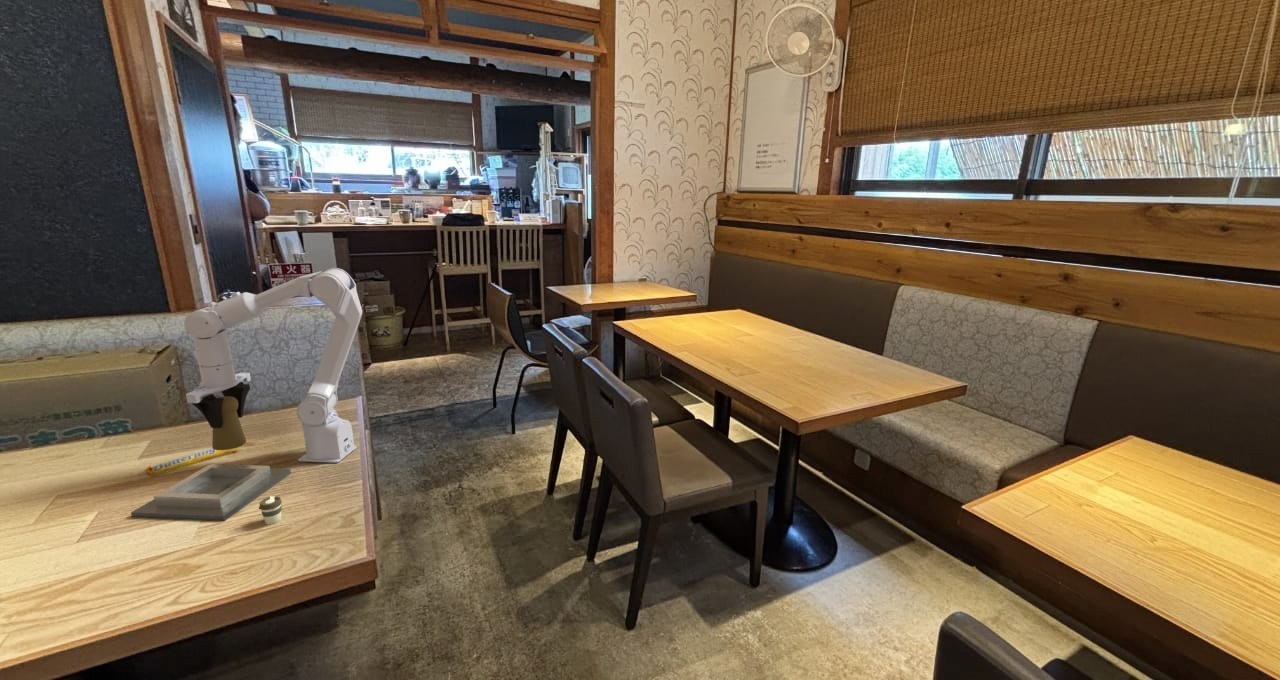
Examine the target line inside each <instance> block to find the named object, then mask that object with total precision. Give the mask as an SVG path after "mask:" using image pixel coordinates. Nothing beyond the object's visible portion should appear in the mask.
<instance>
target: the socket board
mask: <svg viewBox="0 0 1280 680" xmlns="http://www.w3.org/2000/svg"><path fill="white" fill-rule="evenodd" d="M291 473H292V472H291V468H272V467H270V465H257V464H256V465H252V464H251V465H250V464H227V463H225V464H223V463H221V464H220V463H210V464H208V465H206V466H204V467H203V468H201V469H199V470H198V471H196V472H194V473H192V474H191V475H188V476H187V477H184V479H182V480H180V481H178V482H177V483H175V484H173V485H171V486H170V487H168V488H166V489H164V490H162V491H160V492H159V493H157V494H155V495H154V496H153V498H154V499H152V500H150V501H148V502H146V503H145V504H143V505H141V506H140V507H138V508H137V509H134V510H133V511H131V512H130V515H131V518H143V519H144V518H145V519H162V520H163V519H164V520H165V519H167V520H169V519H170V520H192V521H214V522H218V521H220V522H222V521H223V522H225V521H227V520H228V519H229V518H231V517H232V516H233V515H235V514H237V513H238V512H240V510H241V511H242V509H243V508H245V507H246V506H247V505H249V504H251V503H252V502H253V501H254V500H256V499H257V498H259V497H260V496H261V495H263V494H264V493H266V492H267V491H268V490H270V489H271V488H272V487H274V486H276V485H277V484H278V483H280V482H281V481H282V480H284V479H285V478H287V477H288V476H290V475H291Z"/></svg>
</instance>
